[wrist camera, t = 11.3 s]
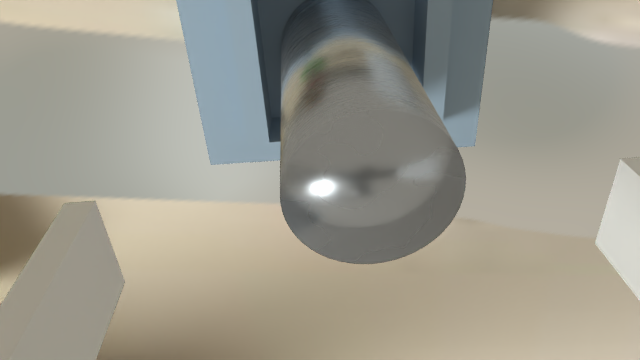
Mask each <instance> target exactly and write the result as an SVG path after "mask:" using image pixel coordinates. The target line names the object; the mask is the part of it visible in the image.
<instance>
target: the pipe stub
mask: <svg viewBox="0 0 640 360" xmlns="http://www.w3.org/2000/svg"><path fill="white" fill-rule="evenodd" d="M465 184H466V175H465V167H464V163H463V160H462V157H461V155H460V153H459V150H458V148H457V147H456V145H455V143H454V141H453V140H452V138H451V136H450V134H449V133H448V131H447V129H446V127H445V125H444V124H443V122H442V120H441V118H440V117H439V115H438V113H437V111H436V110H435V108H434V106H433V104H432V103H431V101H430V99H429V97H428V96H427V94H426V92H425V90H424V89H423V87H422V85H421V83H420V82H419V80H418V78H417V76H416V75H415V73H414V71H413V69H412V68H411V66H410V64H409V62H408V61H407V59H406V57H405V55H404V54H403V52H402V50H401V48H400V46H399V45H398V43H397V41H396V39H395V38H394V36H393V34H392V32H391V31H390V29H389V27H388V25H387V24H386V22H385V20H384V18H383V17H382V15H381V14H380V12H379V11H378V9H377V8H376V7H375V6H374V5H373V4H372V3H371V2H369V1H368V0H305V1H304V2H303V3H301V4H300V5H299V6H298V7H297V8H296V9H295V10H294V11H293V13H292V14H291V15H290V17H289V19H288V21H287V22H286V25H285V27H284V30H283V34H282V41H281V140H280V202H281V207H282V212H283V215H284V217H285V220H286V222H287V224H288V226H289V227H290V229H291V230H292V232H293V233H294V234H295V236H296V237H297V238H298V239H299V240H300V241H301V242H302V243H303V244H305V245H306V246H307V247H309V248H310V249H311V250H313V251H315V252H317V253H319V254H320V255H323V256H325V257H328V258H330V259H333V260H337V261H341V262H346V263H354V264H374V263H382V262H387V261H392V260H396V259H399V258H402V257H405V256H407V255H409V254H412V253H414V252H416V251H418V250H419V249H421V248H423V247H425V246H426V245H427V244H429V243H430V242H432V241H433V240H434V239H435V238H437V237H438V236H439V235H440V234H441V233H442V232H443V231H444V230H445V229H446V228H447V227H448V225H449V224H450V223H451V221H452V220H453V218H454V217H455V215H456V213H457V212H458V210H459V208H460V205H461V203H462V200H463V197H464V191H465Z"/></svg>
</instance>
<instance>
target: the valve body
mask: <svg viewBox="0 0 640 360" xmlns="http://www.w3.org/2000/svg"><path fill="white" fill-rule="evenodd" d="M176 1H177V6H178V11H179V16H180V20H181V25H182V30H183V35H184V40H185V44H186V49H187V54H188V58H189V63H190V68H191V73H192V77H193V82H194V87H195V92H196V97H197V101H198V106H199V111H200V116H201V120H202V125H203V130H204V135H205V139H206V144H207V149H208V154H209V159H210V163H211V165H215V164H230V163H243V162H262V161H275V160H280V140H281V41H282V34H283V30H284V27H285V25H286V22H287V21H288V19H289V17H290V15H291V14H292V13H293V11H294V10H295V9H296V8H297V7H298V6H299V5H300V4H301V3H303V2H304V1H305V0H176ZM368 1H369V2H371V3H372V4H373V5H374V6H375V7H376V8H377V9H378V11H379V12H380V14H381V15H382V17H383V18H384V20H385V22H386V24H387V25H388V27H389V29H390V31H391V32H392V34H393V36H394V38H395V39H396V41H397V43H398V45H399V46H400V48H401V50H402V52H403V54H404V55H405V57H406V59H407V61H408V62H409V64H410V66H411V68H412V69H413V71H414V73H415V75H416V76H417V78H418V80H419V82H420V83H421V85H422V87H423V89H424V90H425V92H426V94H427V96H428V97H429V99H430V101H431V103H432V104H433V106H434V108H435V110H436V111H437V113H438V115H439V117H440V118H441V120H442V122H443V124H444V125H445V127H446V129H447V131H448V133H449V134H450V136H451V138H452V140H453V141H454V143H455V145H456V147H468V146H475V141H476V133H477V125H478V117H479V109H480V101H481V92H482V85H483V76H484V68H485V60H486V52H487V45H488V37H489V29H490V21H491V13H492V5H493V0H368Z"/></svg>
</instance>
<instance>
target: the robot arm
mask: <svg viewBox="0 0 640 360" xmlns="http://www.w3.org/2000/svg"><path fill="white" fill-rule="evenodd" d="M595 244H596V245H597V247H598V248H599V249H600V250H601V252H602V253H603V254H604V256H605V257H606V258H607V259H608V261H609V262H610V263H611V265H612V266H613V267H614V269H615V270H616V271H617V272H618V274H619V275H620V276H621V278H622V279H623V280H624V281H625V283H626V284H627V285H628V287H629V288H630V289H631V290H632V292H633V293H634V294H635V296H636V297H637V298H638V299H639V301H640V157H636V158H623V159H620V162H619V165H618V168H617V172H616V175H615V178H614V182H613V185H612V188H611V192H610V195H609V199H608V202H607V205H606V208H605V212H604V215H603V218H602V221H601V225H600V228H599V232H598V235H597V238H596V241H595ZM124 283H125V280H124V278H123V275H122V272H121V269H120V267H119V264H118V261H117V258H116V256H115V253H114V250H113V248H112V245H111V242H110V239H109V237H108V234H107V231H106V228H105V226H104V223H103V220H102V218H101V215H100V212H99V209H98V207H97V204H96V201H85V202H72V203H64V204H63V206H62V208H61V209H60V211H59V212H58V214H57V216H56V217H55V219H54V220H53V222H52V224H51V225H50V227H49V228H48V230H47V232H46V233H45V235H44V236H43V238H42V240H41V241H40V243H39V244H38V246H37V248H36V249H35V251H34V252H33V254H32V256H31V257H30V259H29V260H28V262H27V264H26V265H25V267H24V268H23V270H22V272H21V273H20V275H19V276H18V278H17V280H16V281H15V283H14V284H13V286H12V288H11V289H10V291H9V292H8V294H7V296H6V297H5V299H4V300H3V302H2V304H1V305H0V360H96V359H97V356H98V353H99V351H100V348H101V345H102V342H103V340H104V337H105V334H106V332H107V329H108V326H109V324H110V321H111V318H112V316H113V313H114V310H115V308H116V305H117V302H118V299H119V297H120V294H121V291H122V289H123V286H124Z"/></svg>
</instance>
